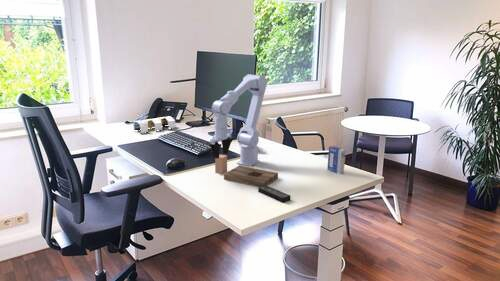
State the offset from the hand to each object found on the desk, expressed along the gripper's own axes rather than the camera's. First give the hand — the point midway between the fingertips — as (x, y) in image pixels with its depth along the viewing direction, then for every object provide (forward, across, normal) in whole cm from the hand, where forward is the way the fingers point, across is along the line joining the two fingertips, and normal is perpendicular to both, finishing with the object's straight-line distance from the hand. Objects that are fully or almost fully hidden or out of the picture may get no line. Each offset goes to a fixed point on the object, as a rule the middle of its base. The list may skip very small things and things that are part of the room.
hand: (221, 155), depth 179 cm
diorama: (+9, -45, -82) cm, 94 cm away
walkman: (+8, -29, +46) cm, 55 cm away
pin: (+8, 0, 0) cm, 8 cm away
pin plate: (+8, 0, +16) cm, 18 cm away
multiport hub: (+9, +12, +33) cm, 36 cm away
